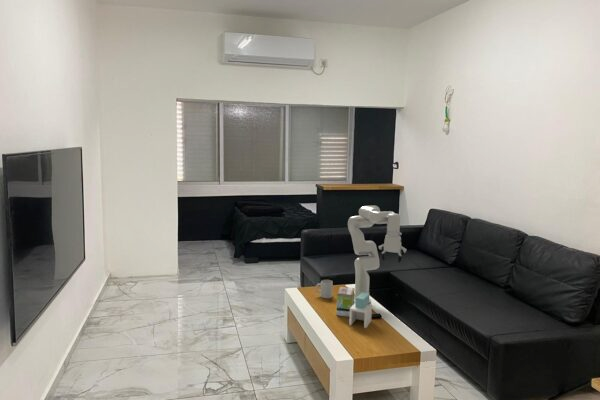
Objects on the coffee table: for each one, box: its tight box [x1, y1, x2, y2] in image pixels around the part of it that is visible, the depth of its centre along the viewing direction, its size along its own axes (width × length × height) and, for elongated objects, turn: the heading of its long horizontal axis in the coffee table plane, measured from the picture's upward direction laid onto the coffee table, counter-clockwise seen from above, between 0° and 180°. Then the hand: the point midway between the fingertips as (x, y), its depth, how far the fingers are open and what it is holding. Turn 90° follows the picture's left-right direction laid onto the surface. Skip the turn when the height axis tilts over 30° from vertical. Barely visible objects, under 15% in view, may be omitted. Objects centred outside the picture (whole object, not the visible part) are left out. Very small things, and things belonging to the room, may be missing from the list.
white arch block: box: [348, 302, 373, 329], centre depth 281 cm, size 12×10×10 cm
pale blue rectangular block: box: [355, 292, 370, 309], centre depth 283 cm, size 12×5×6 cm, turn 155°
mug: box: [315, 279, 334, 299], centre depth 328 cm, size 12×8×11 cm
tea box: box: [335, 286, 355, 317], centre depth 299 cm, size 15×10×15 cm
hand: (391, 260), depth 284 cm, fingers open, 9 cm apart
